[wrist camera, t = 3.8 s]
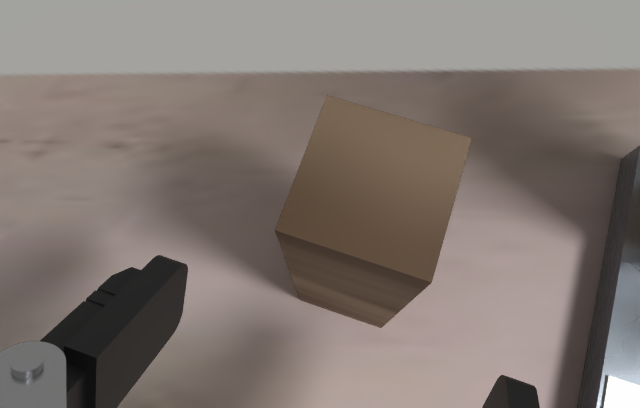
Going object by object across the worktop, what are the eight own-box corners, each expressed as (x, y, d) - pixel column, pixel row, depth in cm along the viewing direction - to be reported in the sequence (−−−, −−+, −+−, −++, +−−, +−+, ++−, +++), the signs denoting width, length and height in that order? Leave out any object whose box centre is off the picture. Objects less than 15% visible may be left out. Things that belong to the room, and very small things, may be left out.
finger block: (330, 212, 23) (333, 78, 13) (408, 237, 23) (477, 119, 12) (299, 299, 22) (275, 230, 12) (381, 327, 22) (431, 282, 11)
